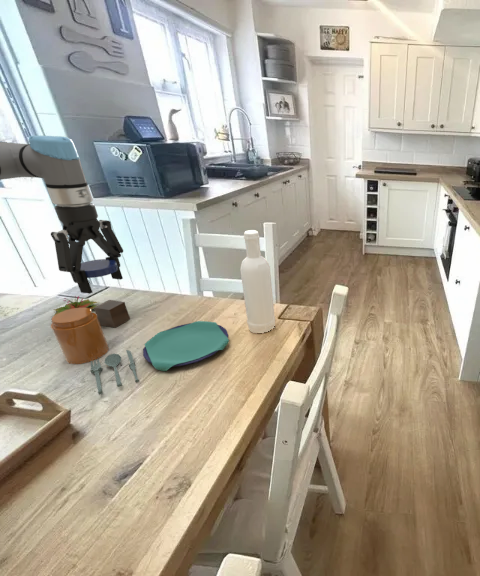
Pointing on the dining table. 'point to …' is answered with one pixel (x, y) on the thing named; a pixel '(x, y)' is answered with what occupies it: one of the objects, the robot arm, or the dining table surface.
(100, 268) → the lid
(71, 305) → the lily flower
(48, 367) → the dining table surface
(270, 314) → the bottle
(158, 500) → the dining table surface
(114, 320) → the dark brown block
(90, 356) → the jar
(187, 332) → the cutlery set
